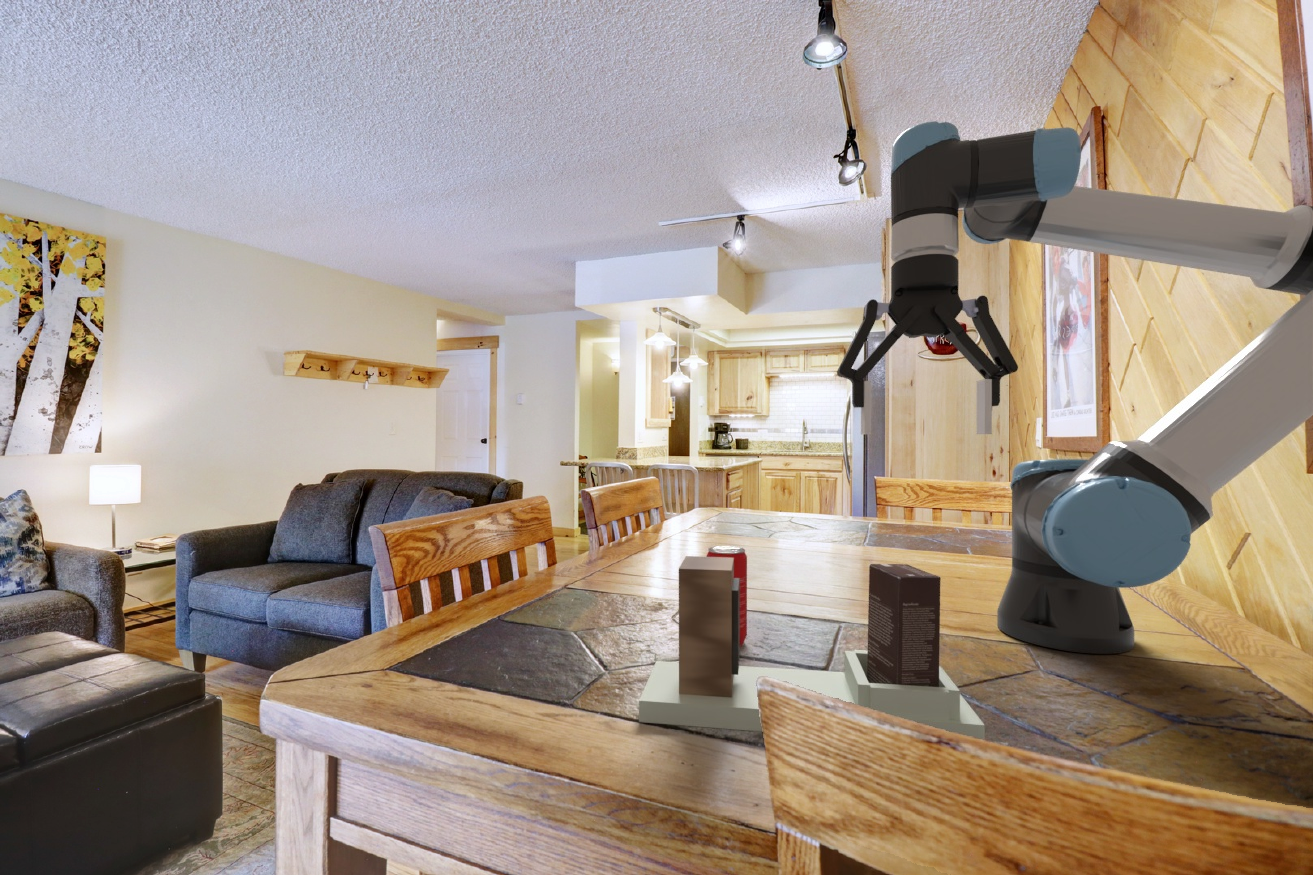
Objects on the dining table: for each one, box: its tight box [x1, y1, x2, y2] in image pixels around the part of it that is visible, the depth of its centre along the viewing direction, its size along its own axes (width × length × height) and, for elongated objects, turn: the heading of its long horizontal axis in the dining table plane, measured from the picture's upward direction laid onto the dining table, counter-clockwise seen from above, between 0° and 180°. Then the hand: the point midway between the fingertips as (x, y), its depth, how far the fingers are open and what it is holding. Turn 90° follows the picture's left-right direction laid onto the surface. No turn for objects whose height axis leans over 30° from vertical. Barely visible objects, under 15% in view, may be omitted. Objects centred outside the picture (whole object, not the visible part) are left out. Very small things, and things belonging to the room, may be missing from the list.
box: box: [867, 563, 942, 687], centre depth 57 cm, size 6×4×12 cm
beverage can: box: [705, 545, 748, 647], centre depth 78 cm, size 5×5×12 cm
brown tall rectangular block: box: [678, 555, 741, 698], centre depth 60 cm, size 6×6×12 cm
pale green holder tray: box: [638, 649, 986, 741], centre depth 59 cm, size 30×10×4 cm, turn 81°
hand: (924, 434), depth 74 cm, fingers open, 13 cm apart
